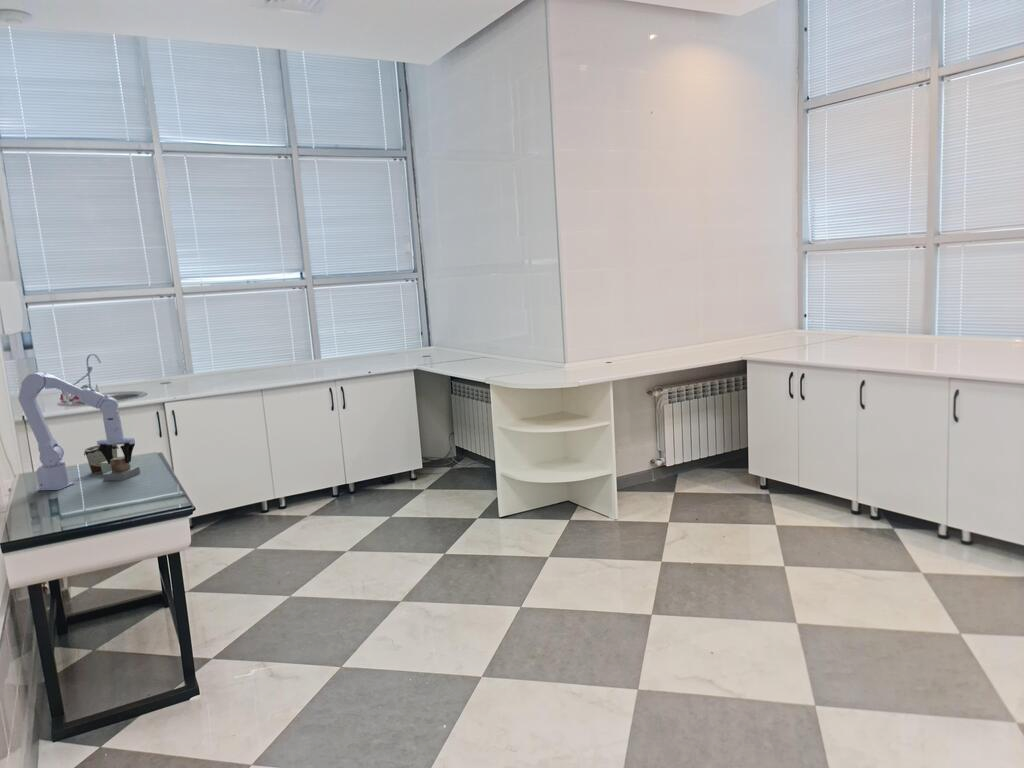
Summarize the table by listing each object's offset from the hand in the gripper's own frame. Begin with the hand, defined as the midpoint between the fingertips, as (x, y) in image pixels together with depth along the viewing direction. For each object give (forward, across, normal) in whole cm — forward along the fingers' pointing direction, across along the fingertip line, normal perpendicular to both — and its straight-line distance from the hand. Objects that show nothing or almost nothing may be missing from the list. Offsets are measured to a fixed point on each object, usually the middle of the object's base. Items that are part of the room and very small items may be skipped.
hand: (119, 462), depth 278 cm
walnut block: (+3, 0, 0) cm, 3 cm away
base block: (+6, 0, 0) cm, 6 cm away
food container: (+6, -16, +11) cm, 21 cm away
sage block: (+6, -9, +6) cm, 12 cm away
